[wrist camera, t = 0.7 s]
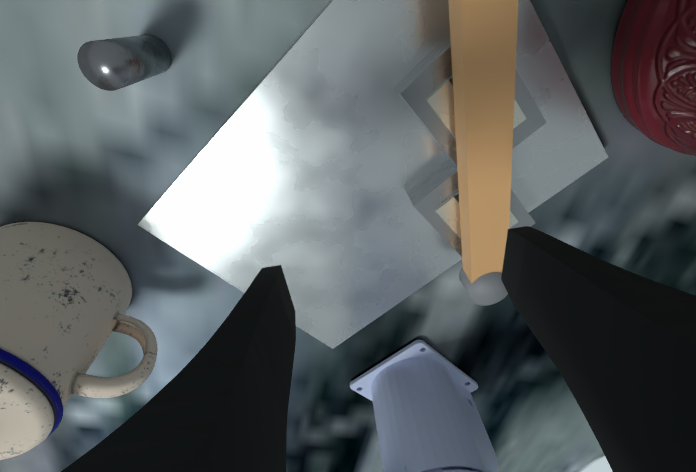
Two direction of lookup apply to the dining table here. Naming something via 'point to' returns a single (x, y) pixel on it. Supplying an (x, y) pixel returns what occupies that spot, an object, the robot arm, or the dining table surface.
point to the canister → (657, 70)
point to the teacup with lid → (58, 328)
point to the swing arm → (484, 136)
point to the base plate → (353, 158)
